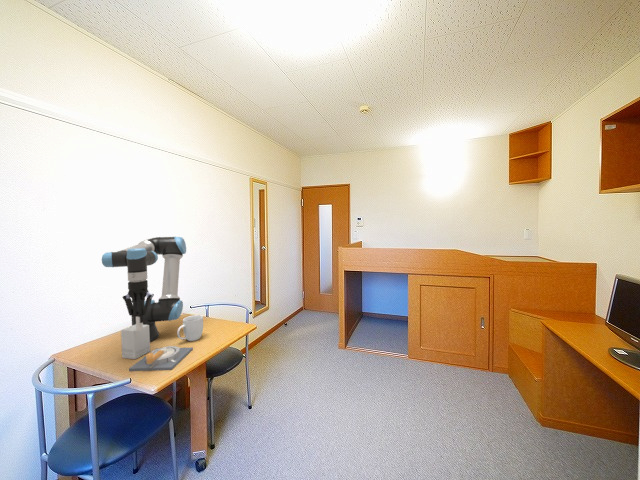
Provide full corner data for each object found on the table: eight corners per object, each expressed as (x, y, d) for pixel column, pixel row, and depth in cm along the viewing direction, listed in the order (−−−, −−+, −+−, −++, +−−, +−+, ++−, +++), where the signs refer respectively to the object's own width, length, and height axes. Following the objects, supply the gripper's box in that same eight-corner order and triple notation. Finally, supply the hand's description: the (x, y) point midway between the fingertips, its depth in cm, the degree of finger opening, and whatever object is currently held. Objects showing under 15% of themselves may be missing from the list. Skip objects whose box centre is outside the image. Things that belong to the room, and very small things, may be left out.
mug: (182, 347, 138) (182, 324, 137) (173, 342, 144) (172, 321, 143) (207, 337, 150) (206, 316, 150) (197, 333, 156) (196, 313, 156)
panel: (156, 350, 134) (156, 344, 134) (192, 349, 135) (192, 343, 135) (128, 371, 114) (128, 363, 114) (171, 369, 115) (171, 362, 115)
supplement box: (151, 351, 134) (150, 324, 133) (135, 359, 125) (134, 331, 124) (137, 349, 136) (136, 323, 135) (121, 357, 127) (120, 329, 126)
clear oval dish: (159, 352, 130) (159, 340, 129) (178, 351, 130) (178, 339, 130) (137, 369, 113) (136, 355, 113) (159, 368, 113) (158, 355, 113)
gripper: (117, 282, 111) (119, 333, 112) (147, 281, 113) (149, 331, 114) (128, 279, 119) (130, 327, 120) (156, 278, 120) (158, 325, 121)
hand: (139, 329), depth 117 cm, fingers closed
